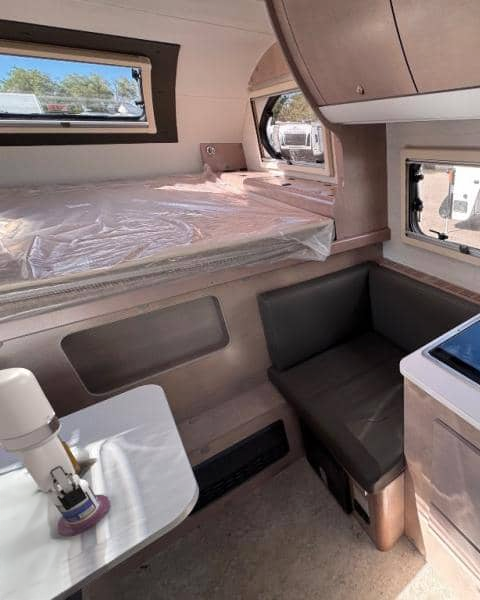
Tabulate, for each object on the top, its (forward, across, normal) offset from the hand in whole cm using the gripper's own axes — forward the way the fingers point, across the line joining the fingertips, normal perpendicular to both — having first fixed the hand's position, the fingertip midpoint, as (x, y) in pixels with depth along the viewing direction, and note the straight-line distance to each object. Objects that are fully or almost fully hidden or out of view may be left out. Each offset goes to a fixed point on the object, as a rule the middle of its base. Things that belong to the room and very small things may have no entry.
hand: (67, 491), depth 67 cm
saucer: (+8, 0, 0) cm, 8 cm away
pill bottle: (+7, 0, 0) cm, 7 cm away
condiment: (+8, -16, +2) cm, 18 cm away
